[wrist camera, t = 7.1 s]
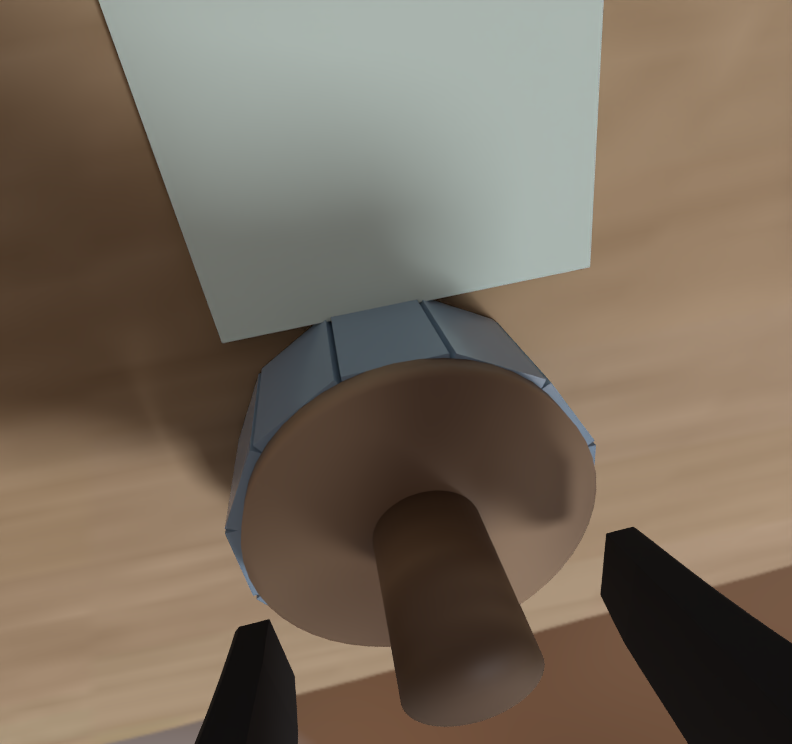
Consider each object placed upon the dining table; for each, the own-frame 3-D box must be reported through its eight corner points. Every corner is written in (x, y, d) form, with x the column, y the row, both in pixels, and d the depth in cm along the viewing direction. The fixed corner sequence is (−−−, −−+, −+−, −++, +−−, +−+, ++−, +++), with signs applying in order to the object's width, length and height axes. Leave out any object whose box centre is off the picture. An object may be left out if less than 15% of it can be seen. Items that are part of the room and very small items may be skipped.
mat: (609, -278, 9) (618, -288, 9) (584, 263, 14) (589, 267, 14) (27, -211, 8) (19, -221, 8) (223, 338, 13) (222, 343, 13)
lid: (585, 319, 11) (741, 439, 7) (575, 575, 15) (669, 735, 11) (188, 409, 10) (127, 594, 6) (295, 650, 14) (296, 846, 11)
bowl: (536, 270, 14) (604, 319, 11) (537, 510, 18) (585, 592, 15) (198, 339, 13) (170, 413, 10) (288, 571, 18) (287, 670, 15)
